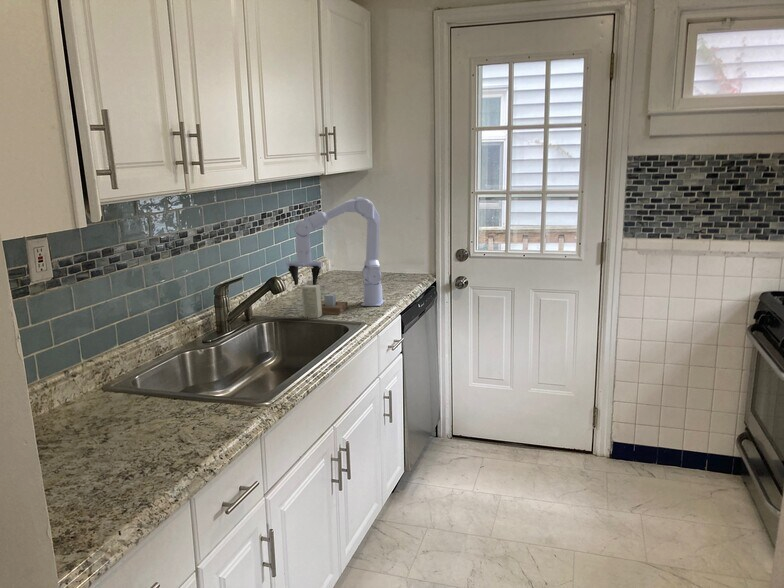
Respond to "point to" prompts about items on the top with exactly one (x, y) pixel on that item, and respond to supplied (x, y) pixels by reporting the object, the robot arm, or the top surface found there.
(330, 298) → the peg
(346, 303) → the walnut socket block
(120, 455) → the top surface
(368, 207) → the robot arm
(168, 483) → the top surface
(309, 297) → the skincare box
